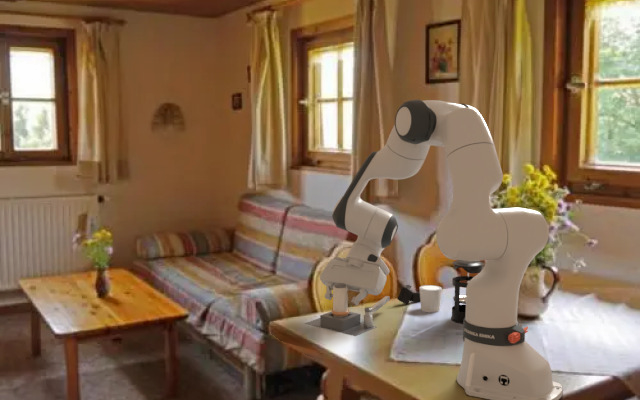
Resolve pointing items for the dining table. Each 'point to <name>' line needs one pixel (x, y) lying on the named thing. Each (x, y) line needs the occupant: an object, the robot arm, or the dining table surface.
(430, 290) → the white cup
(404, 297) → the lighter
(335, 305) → the plug
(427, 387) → the dining table surface
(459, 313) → the french press
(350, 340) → the dining table surface
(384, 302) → the ball-tipped lever
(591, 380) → the dining table surface
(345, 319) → the socket block
